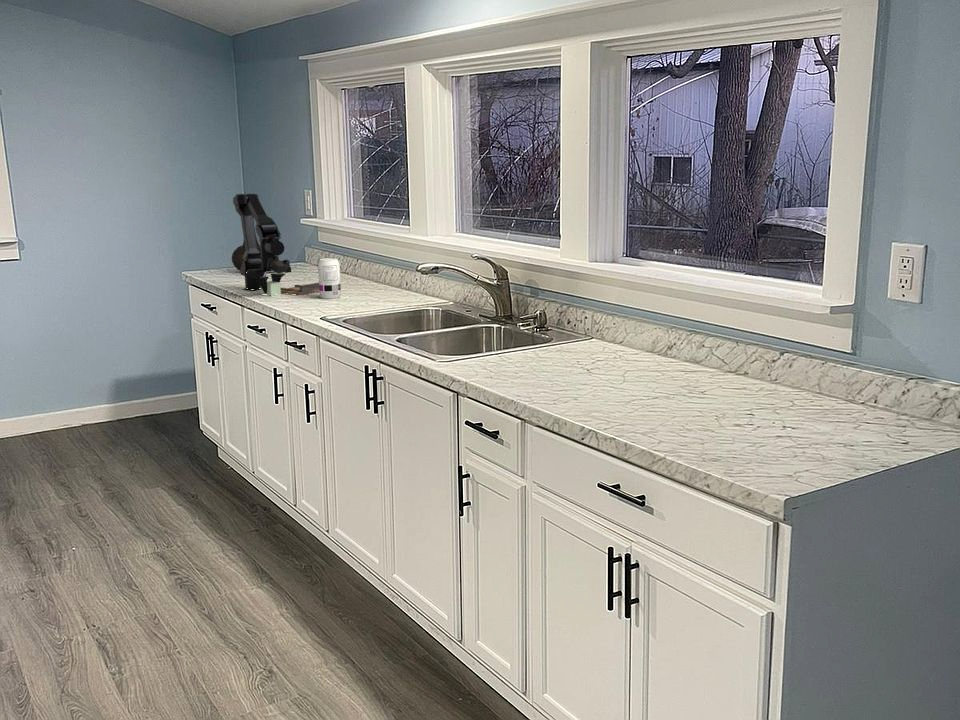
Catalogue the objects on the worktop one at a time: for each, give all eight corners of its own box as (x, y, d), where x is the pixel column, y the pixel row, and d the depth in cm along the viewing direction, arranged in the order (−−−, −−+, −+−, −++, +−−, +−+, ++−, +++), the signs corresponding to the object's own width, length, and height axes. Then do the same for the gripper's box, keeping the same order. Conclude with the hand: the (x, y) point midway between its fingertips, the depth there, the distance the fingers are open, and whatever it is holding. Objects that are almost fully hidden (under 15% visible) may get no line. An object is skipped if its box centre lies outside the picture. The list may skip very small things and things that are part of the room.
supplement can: (315, 298, 368) (313, 260, 365) (328, 295, 375) (326, 257, 372) (332, 299, 364) (330, 260, 361) (345, 296, 371) (343, 258, 368)
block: (261, 295, 378) (260, 282, 377) (270, 293, 382) (269, 281, 381) (271, 296, 375) (270, 283, 374) (280, 294, 379) (280, 282, 378)
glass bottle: (252, 268, 463) (248, 210, 457) (279, 270, 453) (275, 211, 447) (224, 273, 448) (220, 213, 442) (251, 275, 439) (247, 214, 433)
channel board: (275, 293, 383) (275, 284, 383) (299, 288, 394) (298, 280, 393) (300, 295, 375) (299, 286, 375) (323, 291, 386) (323, 282, 385)
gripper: (264, 256, 363) (267, 297, 367) (299, 252, 378) (302, 290, 381) (244, 255, 369) (247, 295, 373) (280, 250, 384) (282, 288, 388)
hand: (270, 292), depth 379 cm, fingers closed on block, 5 cm apart
